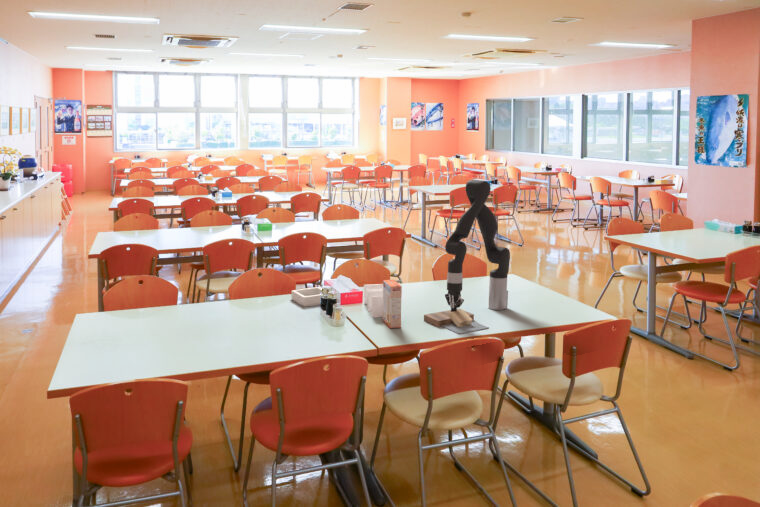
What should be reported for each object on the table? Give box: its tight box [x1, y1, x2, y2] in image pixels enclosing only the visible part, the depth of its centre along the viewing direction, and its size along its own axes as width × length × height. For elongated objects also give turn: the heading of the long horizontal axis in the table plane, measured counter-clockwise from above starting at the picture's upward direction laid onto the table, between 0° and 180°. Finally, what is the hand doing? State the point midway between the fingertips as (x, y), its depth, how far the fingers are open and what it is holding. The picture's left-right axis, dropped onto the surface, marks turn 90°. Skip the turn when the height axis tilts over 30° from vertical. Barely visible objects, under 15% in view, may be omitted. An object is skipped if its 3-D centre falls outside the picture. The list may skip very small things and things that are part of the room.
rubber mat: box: [441, 320, 490, 335], centre depth 312 cm, size 18×15×1 cm
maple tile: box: [449, 309, 474, 327], centre depth 314 cm, size 8×8×3 cm
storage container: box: [363, 283, 383, 318], centre depth 339 cm, size 25×11×11 cm, turn 11°
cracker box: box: [382, 279, 403, 329], centre depth 314 cm, size 14×6×21 cm, turn 14°
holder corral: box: [291, 286, 323, 307], centre depth 356 cm, size 17×17×5 cm
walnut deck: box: [423, 308, 475, 328], centre depth 322 cm, size 22×12×3 cm, turn 121°
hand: (453, 314), depth 318 cm, fingers closed
